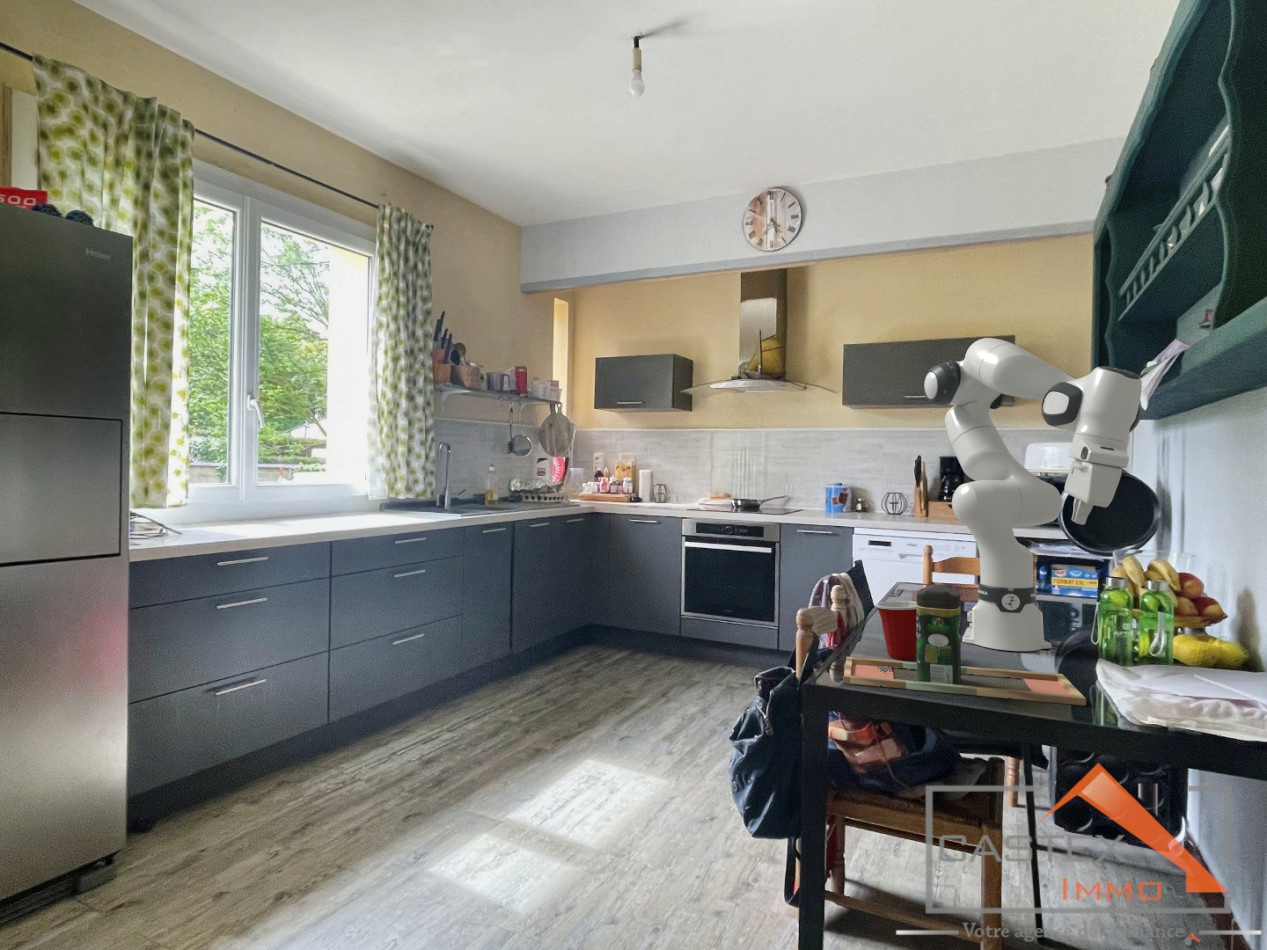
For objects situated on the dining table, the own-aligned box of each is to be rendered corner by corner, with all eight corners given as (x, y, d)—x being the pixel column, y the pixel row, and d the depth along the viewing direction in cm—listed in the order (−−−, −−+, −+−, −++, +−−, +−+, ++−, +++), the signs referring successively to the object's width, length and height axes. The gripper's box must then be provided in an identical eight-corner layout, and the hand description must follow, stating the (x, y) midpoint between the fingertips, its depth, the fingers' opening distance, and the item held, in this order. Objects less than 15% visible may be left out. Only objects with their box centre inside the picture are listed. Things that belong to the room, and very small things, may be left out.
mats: (852, 665, 149) (852, 664, 149) (1057, 682, 137) (1057, 681, 137) (850, 681, 137) (850, 680, 137) (1075, 701, 125) (1075, 700, 125)
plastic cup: (886, 648, 164) (886, 596, 164) (934, 656, 157) (934, 602, 157) (867, 657, 155) (867, 602, 156) (917, 666, 148) (917, 608, 148)
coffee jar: (919, 672, 143) (919, 581, 143) (962, 678, 140) (962, 583, 140) (913, 685, 135) (913, 587, 135) (959, 691, 131) (959, 590, 131)
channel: (846, 662, 151) (846, 656, 151) (1062, 680, 138) (1062, 674, 138) (843, 683, 136) (843, 676, 136) (1086, 705, 123) (1086, 698, 123)
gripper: (1066, 446, 145) (1049, 512, 147) (1091, 452, 126) (1071, 527, 128) (1101, 453, 143) (1083, 518, 145) (1132, 459, 124) (1111, 535, 126)
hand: (1077, 523), depth 137 cm, fingers closed
